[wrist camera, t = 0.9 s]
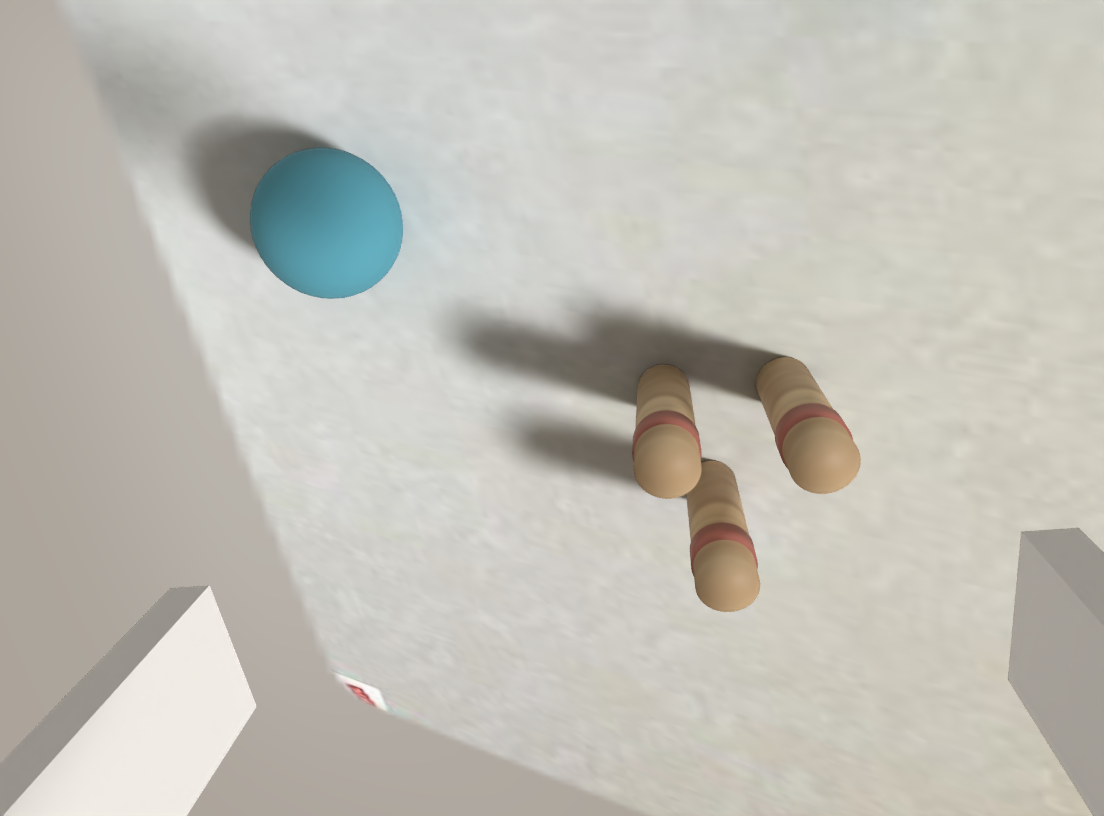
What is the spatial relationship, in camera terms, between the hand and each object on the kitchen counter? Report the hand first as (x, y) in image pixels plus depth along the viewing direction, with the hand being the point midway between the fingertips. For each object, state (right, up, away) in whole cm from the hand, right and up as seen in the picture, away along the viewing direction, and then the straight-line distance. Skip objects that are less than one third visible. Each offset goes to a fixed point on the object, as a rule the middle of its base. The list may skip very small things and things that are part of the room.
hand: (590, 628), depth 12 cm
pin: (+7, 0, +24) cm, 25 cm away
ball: (-10, +11, +18) cm, 23 cm away
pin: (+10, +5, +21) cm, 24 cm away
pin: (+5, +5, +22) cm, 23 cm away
